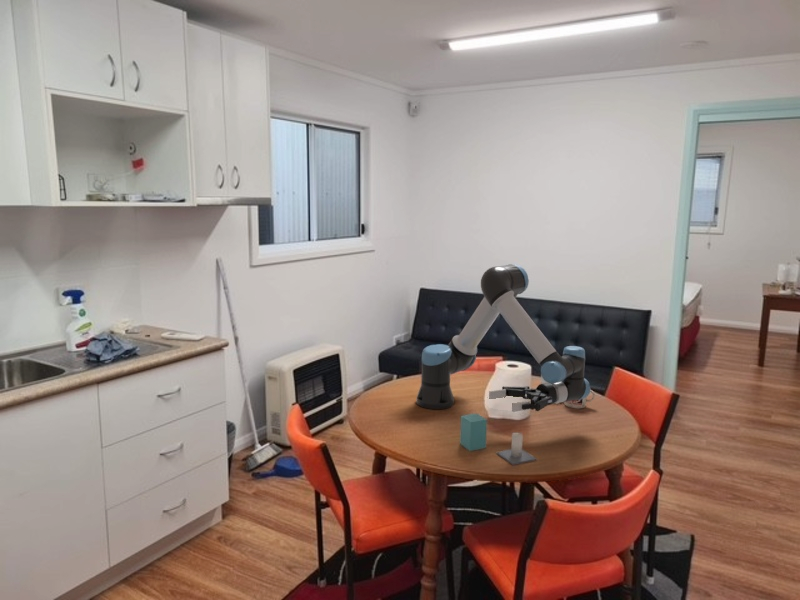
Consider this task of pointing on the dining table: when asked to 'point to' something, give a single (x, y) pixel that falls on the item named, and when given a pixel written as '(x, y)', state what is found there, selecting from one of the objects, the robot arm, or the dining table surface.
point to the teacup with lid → (579, 402)
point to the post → (516, 451)
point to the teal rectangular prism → (473, 432)
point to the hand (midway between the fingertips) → (500, 401)
